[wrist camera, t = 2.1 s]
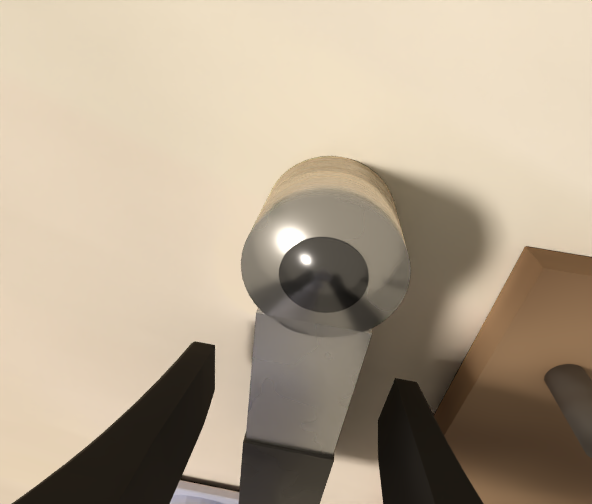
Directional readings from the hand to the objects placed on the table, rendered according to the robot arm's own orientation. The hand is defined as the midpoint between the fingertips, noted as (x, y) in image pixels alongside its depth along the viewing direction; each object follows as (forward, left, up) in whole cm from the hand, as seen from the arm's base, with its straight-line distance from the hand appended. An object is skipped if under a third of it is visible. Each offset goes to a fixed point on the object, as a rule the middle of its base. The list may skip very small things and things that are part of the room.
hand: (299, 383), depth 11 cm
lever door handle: (0, 0, -1) cm, 2 cm away
